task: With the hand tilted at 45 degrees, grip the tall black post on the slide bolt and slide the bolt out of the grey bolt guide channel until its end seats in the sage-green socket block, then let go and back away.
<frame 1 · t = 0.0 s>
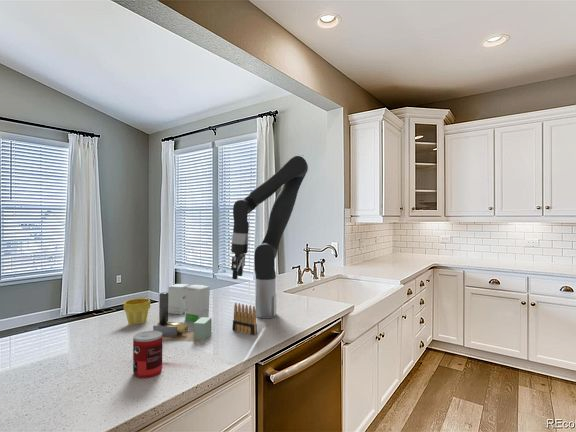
hand: (237, 277, 157), 17 cm above the worktop, tool pointing down, fingers open, 8 cm apart
slide bolt: (172, 313, 126), point 9 cm above the worktop, slide at 0.0 cm
supplement box: (178, 312, 161), on the worktop
ammunition clip: (244, 335, 130), on the worktop
plant pot: (137, 324, 142), on the worktop
skincare box: (197, 322, 145), on the worktop
oak board: (182, 338, 126), on the worktop
grey bolt guide channel: (168, 334, 126), resting on oak board
socket block: (202, 336, 125), resting on oak board
canned food: (147, 373, 99), on the worktop
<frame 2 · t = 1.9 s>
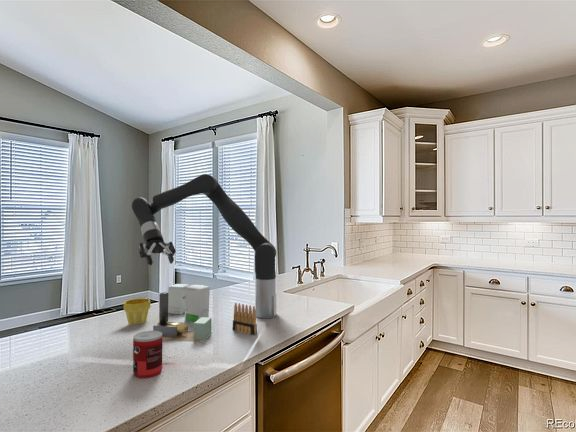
hand: (161, 263, 139), 26 cm above the worktop, tool tilted 45°, fingers open, 8 cm apart
nothing on the worktop moved.
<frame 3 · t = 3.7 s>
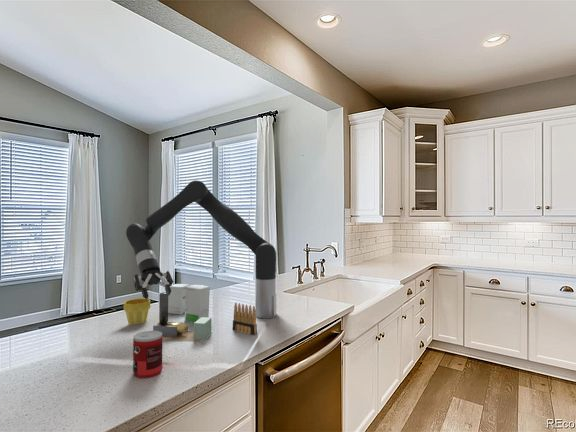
hand: (158, 296, 131), 15 cm above the worktop, tool tilted 45°, fingers open, 8 cm apart
nothing on the worktop moved.
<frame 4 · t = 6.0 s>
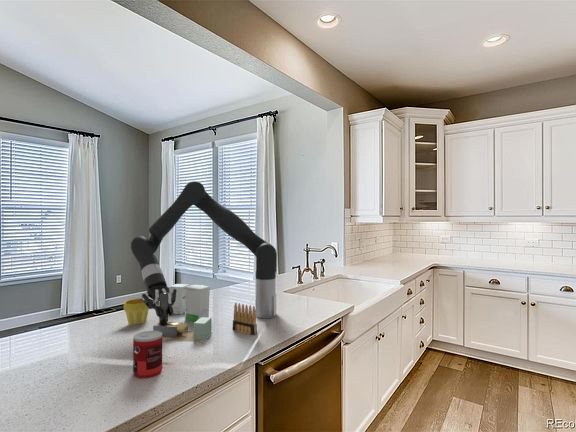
hand: (166, 315, 125), 9 cm above the worktop, tool tilted 45°, fingers closed on slide bolt, 3 cm apart
slide bolt: (172, 313, 126), point 9 cm above the worktop, slide at 0.0 cm, touching gripper
everything else where it was.
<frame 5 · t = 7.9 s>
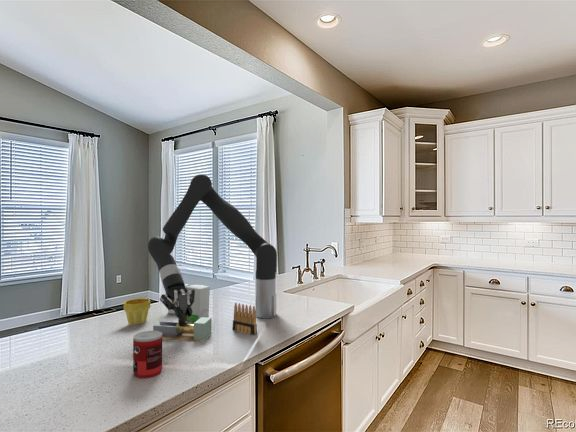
hand: (185, 316, 124), 9 cm above the worktop, tool tilted 45°, fingers closed on slide bolt, 3 cm apart
slide bolt: (191, 313, 125), point 9 cm above the worktop, slide at 7.5 cm, touching gripper
everything else where it was.
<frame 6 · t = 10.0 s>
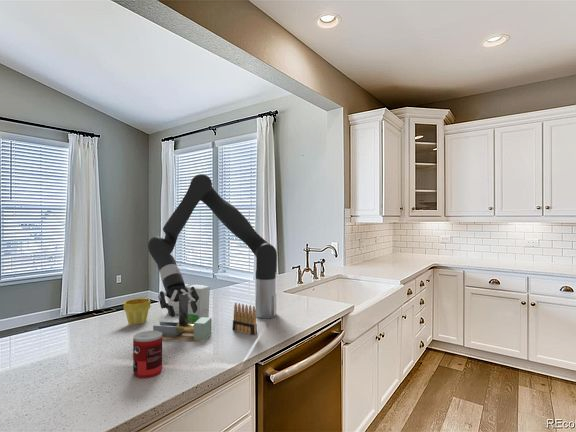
hand: (184, 313, 125), 10 cm above the worktop, tool tilted 45°, fingers open, 8 cm apart
slide bolt: (192, 313, 125), point 9 cm above the worktop, slide at 7.7 cm
everything else where it was.
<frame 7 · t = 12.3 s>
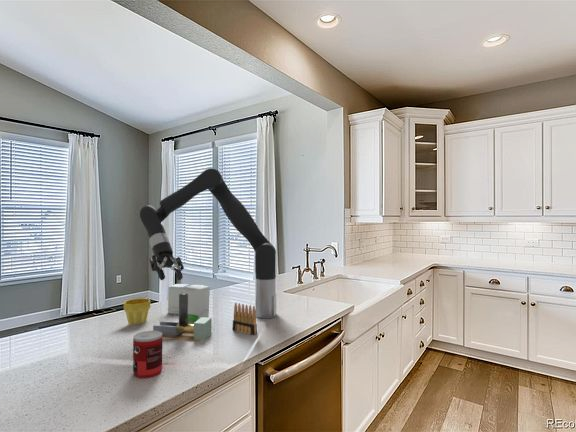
hand: (172, 279, 137), 20 cm above the worktop, tool tilted 40°, fingers open, 8 cm apart
nothing on the worktop moved.
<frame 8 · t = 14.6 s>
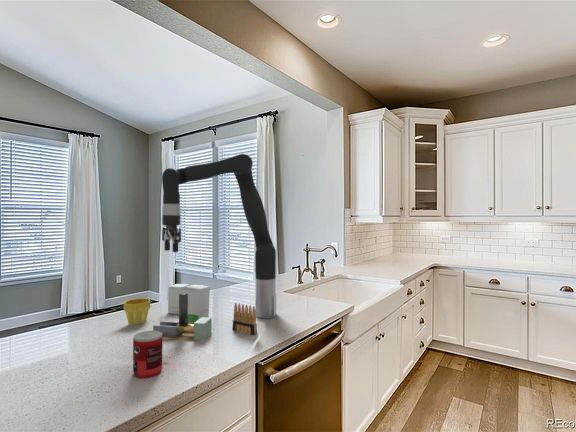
hand: (171, 251, 148), 30 cm above the worktop, tool pointing down, fingers open, 8 cm apart
nothing on the worktop moved.
at the end: slide bolt slide at 7.7 cm; the gripper is holding nothing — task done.
